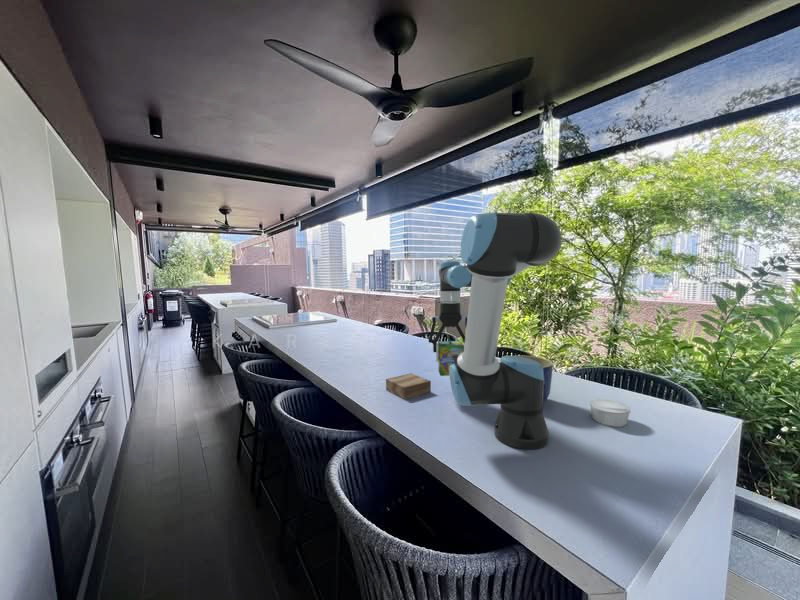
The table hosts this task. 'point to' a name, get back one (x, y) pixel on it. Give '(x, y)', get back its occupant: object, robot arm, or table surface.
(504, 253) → the robot arm
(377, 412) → the table surface
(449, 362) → the chalk box
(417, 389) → the walnut base block
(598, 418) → the ramekin
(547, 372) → the planter
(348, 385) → the table surface
